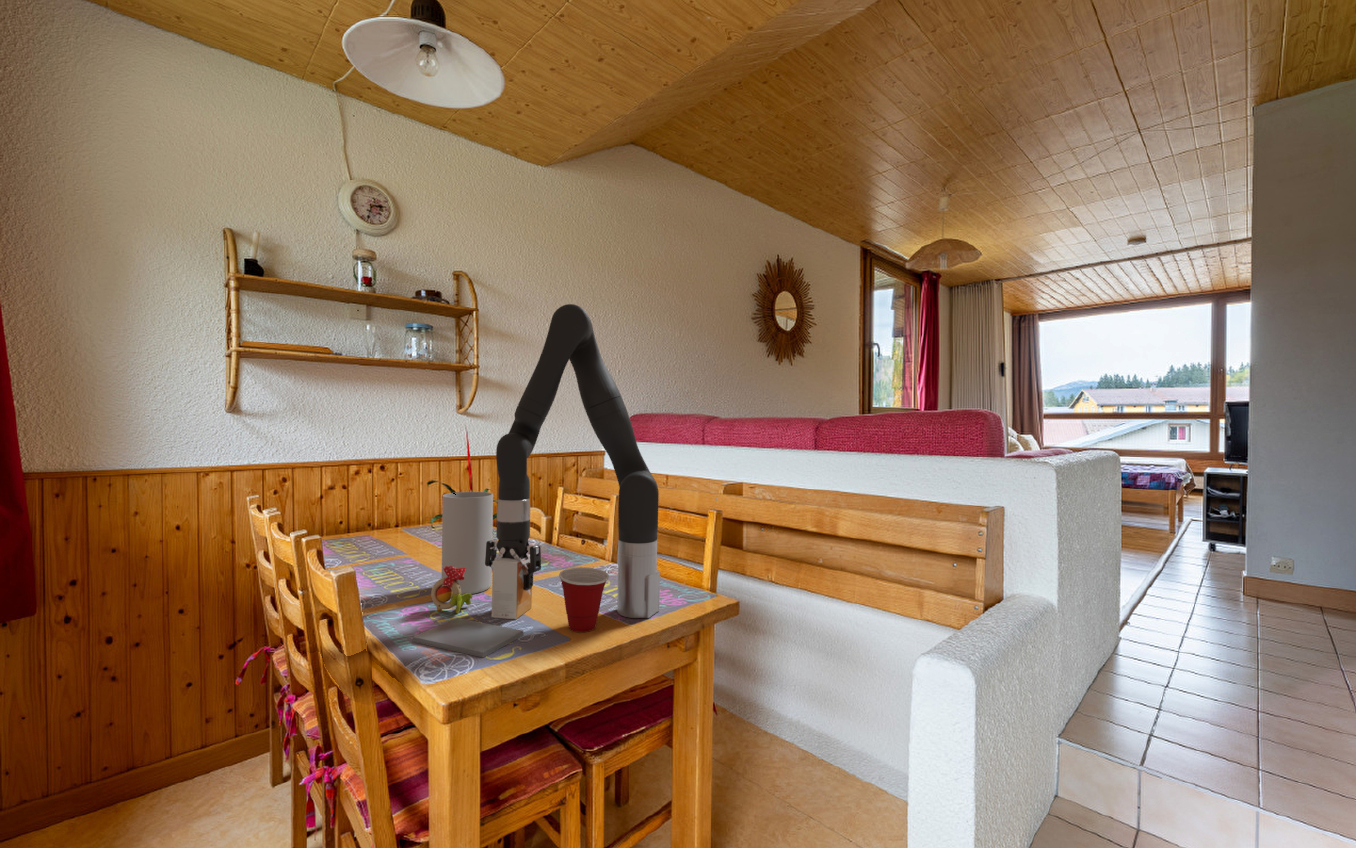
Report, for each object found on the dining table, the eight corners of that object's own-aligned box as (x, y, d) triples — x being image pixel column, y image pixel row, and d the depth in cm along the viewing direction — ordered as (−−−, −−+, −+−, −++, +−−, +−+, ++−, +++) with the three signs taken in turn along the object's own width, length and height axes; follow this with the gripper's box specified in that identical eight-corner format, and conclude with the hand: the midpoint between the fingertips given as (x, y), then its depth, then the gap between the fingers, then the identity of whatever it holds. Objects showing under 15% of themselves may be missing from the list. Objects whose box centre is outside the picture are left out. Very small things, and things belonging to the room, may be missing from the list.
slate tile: (523, 635, 116) (523, 630, 116) (483, 657, 105) (483, 652, 105) (457, 622, 123) (457, 617, 123) (412, 641, 112) (412, 636, 112)
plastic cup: (587, 641, 114) (588, 583, 114) (547, 630, 119) (548, 575, 119) (618, 625, 123) (619, 571, 123) (579, 615, 129) (580, 564, 129)
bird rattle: (433, 624, 127) (469, 609, 127) (415, 579, 128) (451, 564, 127) (446, 615, 134) (480, 601, 133) (428, 572, 134) (463, 558, 134)
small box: (516, 620, 125) (517, 562, 125) (490, 617, 126) (491, 560, 126) (532, 608, 133) (533, 554, 133) (508, 606, 134) (508, 552, 134)
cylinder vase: (501, 585, 151) (503, 493, 151) (466, 598, 140) (468, 499, 139) (466, 579, 156) (468, 490, 156) (430, 591, 145) (432, 495, 145)
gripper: (548, 518, 131) (547, 587, 131) (500, 513, 136) (498, 579, 136) (528, 523, 124) (527, 596, 124) (478, 517, 129) (476, 587, 129)
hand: (512, 587), depth 130 cm, fingers open, 8 cm apart
